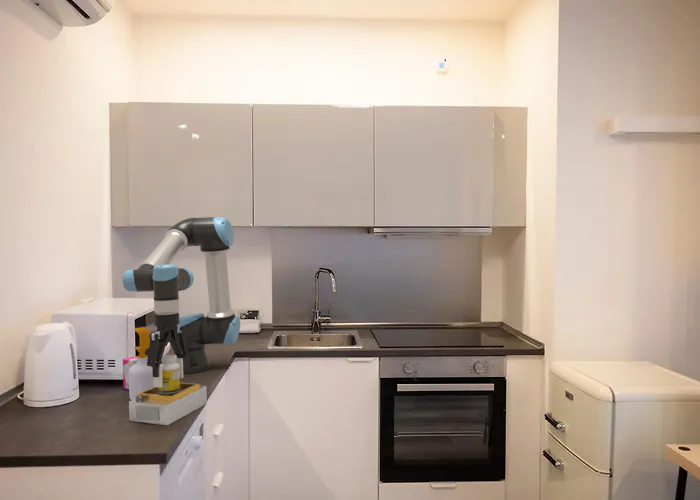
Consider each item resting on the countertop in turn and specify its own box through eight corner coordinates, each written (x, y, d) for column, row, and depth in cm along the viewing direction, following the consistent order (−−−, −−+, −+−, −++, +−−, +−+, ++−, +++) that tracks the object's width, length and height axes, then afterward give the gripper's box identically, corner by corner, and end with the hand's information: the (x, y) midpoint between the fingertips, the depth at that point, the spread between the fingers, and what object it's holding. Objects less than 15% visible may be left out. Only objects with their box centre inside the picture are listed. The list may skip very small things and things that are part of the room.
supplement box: (146, 387, 187) (145, 357, 187) (132, 391, 182) (131, 360, 182) (136, 385, 190) (135, 355, 190) (122, 389, 185) (121, 359, 185)
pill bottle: (155, 392, 160) (154, 356, 160) (174, 388, 164) (173, 353, 164) (163, 396, 155) (163, 359, 155) (183, 392, 160) (183, 355, 160)
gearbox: (172, 400, 172) (171, 378, 171) (206, 403, 167) (206, 381, 167) (128, 421, 152) (127, 397, 152) (166, 425, 148) (165, 400, 148)
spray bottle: (149, 391, 182) (146, 324, 181) (162, 396, 176) (160, 327, 175) (124, 398, 175) (122, 328, 174) (137, 403, 169) (135, 331, 168)
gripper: (179, 307, 171) (181, 372, 171) (131, 318, 150) (134, 391, 150) (197, 308, 168) (199, 373, 169) (152, 318, 147) (154, 393, 148)
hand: (169, 382), depth 160 cm, fingers open, 9 cm apart
